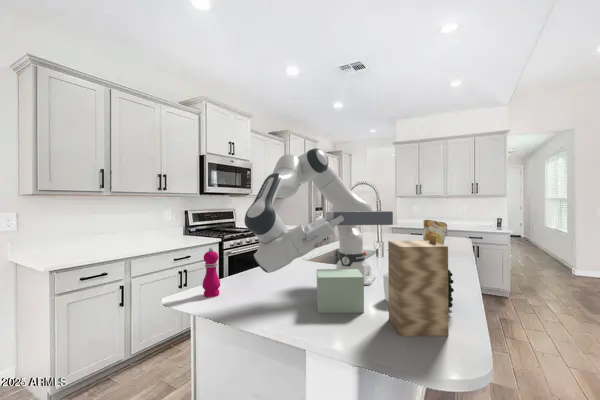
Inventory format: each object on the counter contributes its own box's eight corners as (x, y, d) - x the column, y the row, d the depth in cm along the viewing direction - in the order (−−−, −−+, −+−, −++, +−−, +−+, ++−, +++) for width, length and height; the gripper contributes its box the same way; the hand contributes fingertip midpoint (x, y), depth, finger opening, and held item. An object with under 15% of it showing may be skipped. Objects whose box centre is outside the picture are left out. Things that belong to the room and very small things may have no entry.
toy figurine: (461, 318, 105) (442, 290, 129) (462, 265, 103) (443, 246, 127) (431, 316, 107) (419, 289, 131) (432, 264, 105) (419, 246, 129)
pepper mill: (223, 293, 130) (223, 246, 130) (213, 298, 124) (213, 249, 123) (209, 291, 133) (208, 245, 133) (198, 296, 126) (198, 248, 126)
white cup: (401, 305, 114) (401, 278, 114) (380, 301, 118) (380, 275, 118) (406, 299, 121) (406, 273, 121) (386, 295, 125) (386, 271, 125)
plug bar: (326, 225, 93) (326, 211, 93) (325, 224, 97) (325, 211, 97) (392, 224, 93) (392, 211, 93) (389, 223, 97) (389, 210, 97)
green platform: (318, 312, 107) (318, 277, 107) (316, 301, 119) (316, 269, 119) (364, 312, 107) (363, 277, 107) (357, 300, 119) (357, 268, 119)
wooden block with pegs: (400, 335, 89) (399, 238, 89) (388, 319, 101) (388, 233, 101) (448, 335, 89) (448, 237, 89) (431, 319, 101) (430, 232, 101)
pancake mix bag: (429, 271, 165) (429, 219, 165) (449, 280, 146) (448, 222, 146) (417, 271, 165) (417, 219, 164) (435, 281, 146) (435, 222, 145)
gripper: (297, 234, 85) (340, 209, 84) (298, 227, 105) (333, 206, 105) (309, 254, 85) (352, 229, 84) (307, 242, 105) (342, 222, 105)
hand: (341, 216), depth 95 cm, fingers closed on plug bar, 4 cm apart
